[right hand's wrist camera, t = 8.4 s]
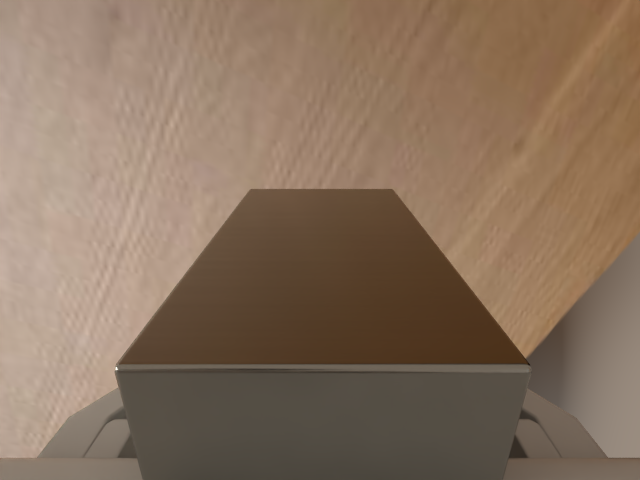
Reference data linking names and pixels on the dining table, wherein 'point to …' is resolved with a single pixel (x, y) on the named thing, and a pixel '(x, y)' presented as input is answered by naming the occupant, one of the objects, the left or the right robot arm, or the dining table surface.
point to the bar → (322, 353)
